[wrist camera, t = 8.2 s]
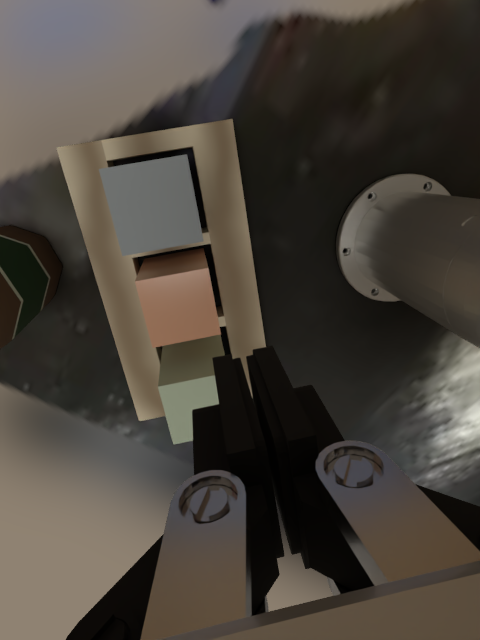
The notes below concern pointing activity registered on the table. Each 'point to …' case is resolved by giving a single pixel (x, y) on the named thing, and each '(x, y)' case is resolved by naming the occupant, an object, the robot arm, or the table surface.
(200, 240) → the slate key
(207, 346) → the sage key
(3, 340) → the beer bottle
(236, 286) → the birch board
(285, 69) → the table surface
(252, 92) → the table surface
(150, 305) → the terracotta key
